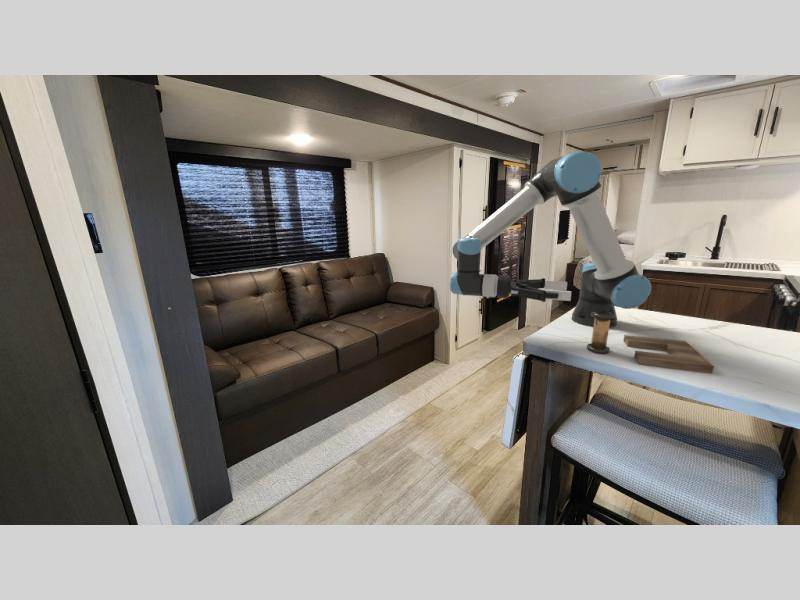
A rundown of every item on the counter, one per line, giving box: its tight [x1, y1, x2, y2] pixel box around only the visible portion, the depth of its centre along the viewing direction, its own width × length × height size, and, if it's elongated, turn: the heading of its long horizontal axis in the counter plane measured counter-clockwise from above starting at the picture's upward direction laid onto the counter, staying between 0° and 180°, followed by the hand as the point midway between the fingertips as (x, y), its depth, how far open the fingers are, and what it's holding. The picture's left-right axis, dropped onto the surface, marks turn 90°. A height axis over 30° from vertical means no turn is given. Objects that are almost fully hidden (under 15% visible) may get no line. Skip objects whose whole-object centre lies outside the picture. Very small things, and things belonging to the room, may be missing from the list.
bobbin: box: [586, 311, 615, 355], centre depth 98 cm, size 6×6×12 cm
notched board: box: [623, 334, 715, 374], centre depth 95 cm, size 18×16×2 cm
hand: (568, 290), depth 98 cm, fingers open, 13 cm apart
